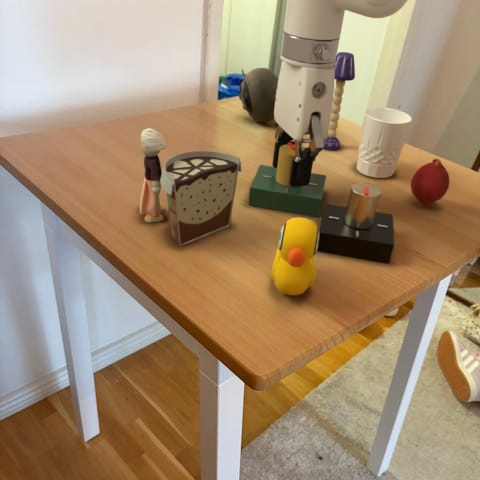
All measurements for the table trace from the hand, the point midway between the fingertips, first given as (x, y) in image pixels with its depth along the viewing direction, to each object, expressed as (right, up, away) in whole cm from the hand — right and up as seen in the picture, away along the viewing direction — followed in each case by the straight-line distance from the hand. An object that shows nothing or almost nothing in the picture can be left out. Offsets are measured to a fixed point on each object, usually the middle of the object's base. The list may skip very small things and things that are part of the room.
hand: (290, 174), depth 82 cm
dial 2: (+9, -9, -8) cm, 15 cm away
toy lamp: (+10, +12, +22) cm, 27 cm away
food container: (-15, -10, -7) cm, 19 cm away
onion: (+22, -4, +5) cm, 23 cm away
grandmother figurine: (-20, -8, -5) cm, 23 cm away
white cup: (+17, +4, +14) cm, 22 cm away
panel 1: (0, -3, +3) cm, 4 cm away
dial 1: (0, -1, +1) cm, 1 cm away
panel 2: (+9, -11, -6) cm, 15 cm away
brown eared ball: (-3, +19, +30) cm, 36 cm away
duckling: (-2, -19, -16) cm, 25 cm away
